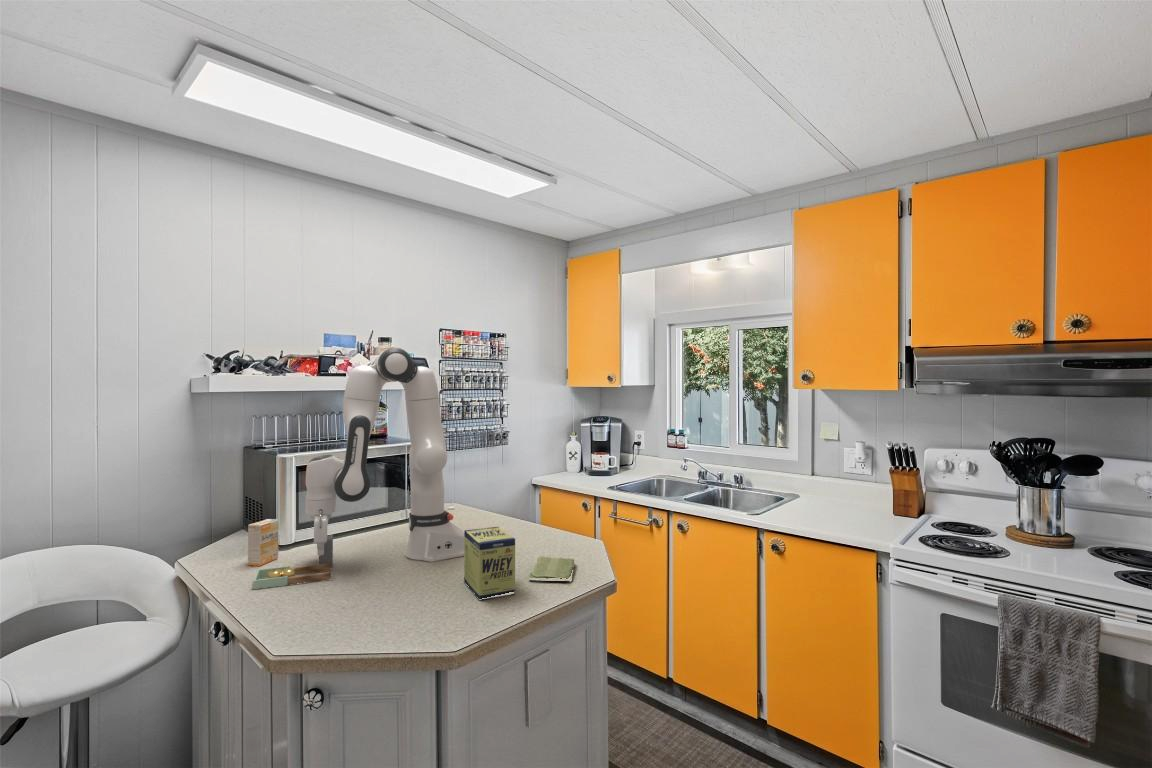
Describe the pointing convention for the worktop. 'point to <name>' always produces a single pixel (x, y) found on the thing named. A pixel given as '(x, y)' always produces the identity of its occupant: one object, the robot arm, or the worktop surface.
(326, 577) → the slot rails
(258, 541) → the supplement box
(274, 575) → the puck
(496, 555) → the protein box
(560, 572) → the washcloth
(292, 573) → the puck
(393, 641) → the worktop surface
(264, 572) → the chip tray
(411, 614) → the worktop surface
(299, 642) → the worktop surface
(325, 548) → the rake block
